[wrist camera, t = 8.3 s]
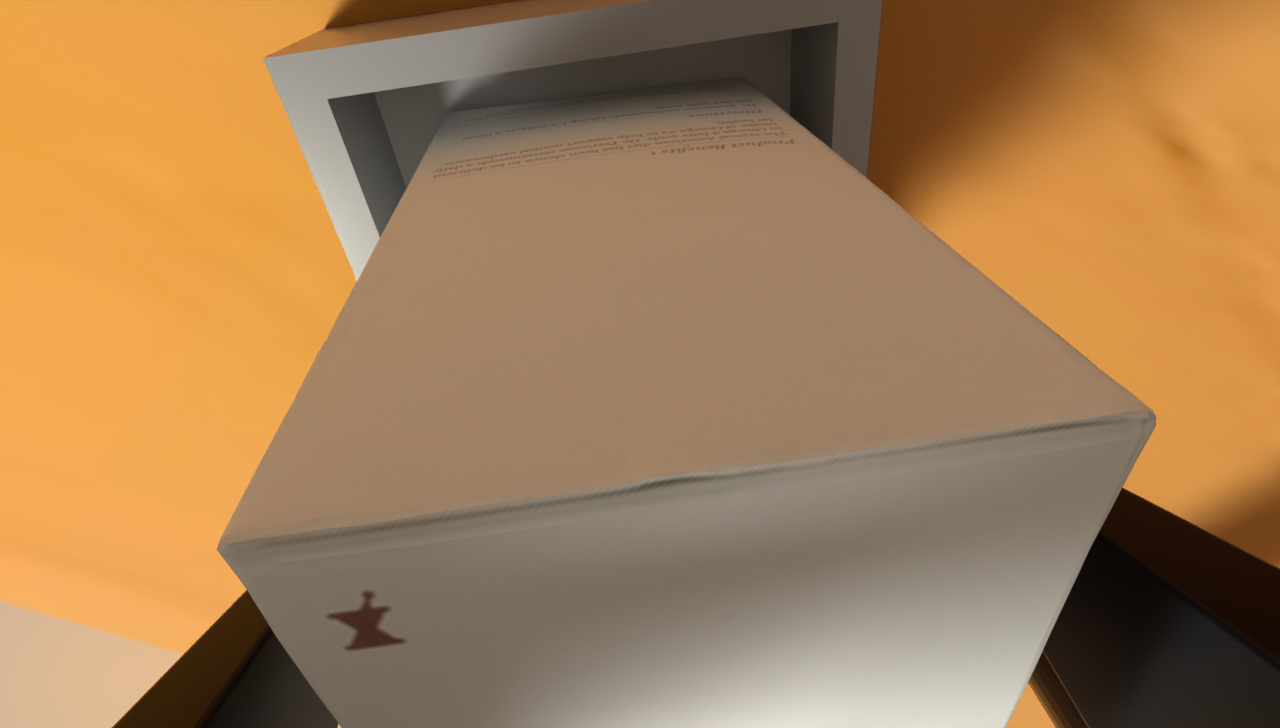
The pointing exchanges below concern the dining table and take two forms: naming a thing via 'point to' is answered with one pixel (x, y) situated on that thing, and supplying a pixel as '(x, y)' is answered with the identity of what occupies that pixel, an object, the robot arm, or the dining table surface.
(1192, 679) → the robot arm
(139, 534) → the dining table surface
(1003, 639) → the supplement box
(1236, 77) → the dining table surface
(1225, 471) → the dining table surface
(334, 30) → the tray
